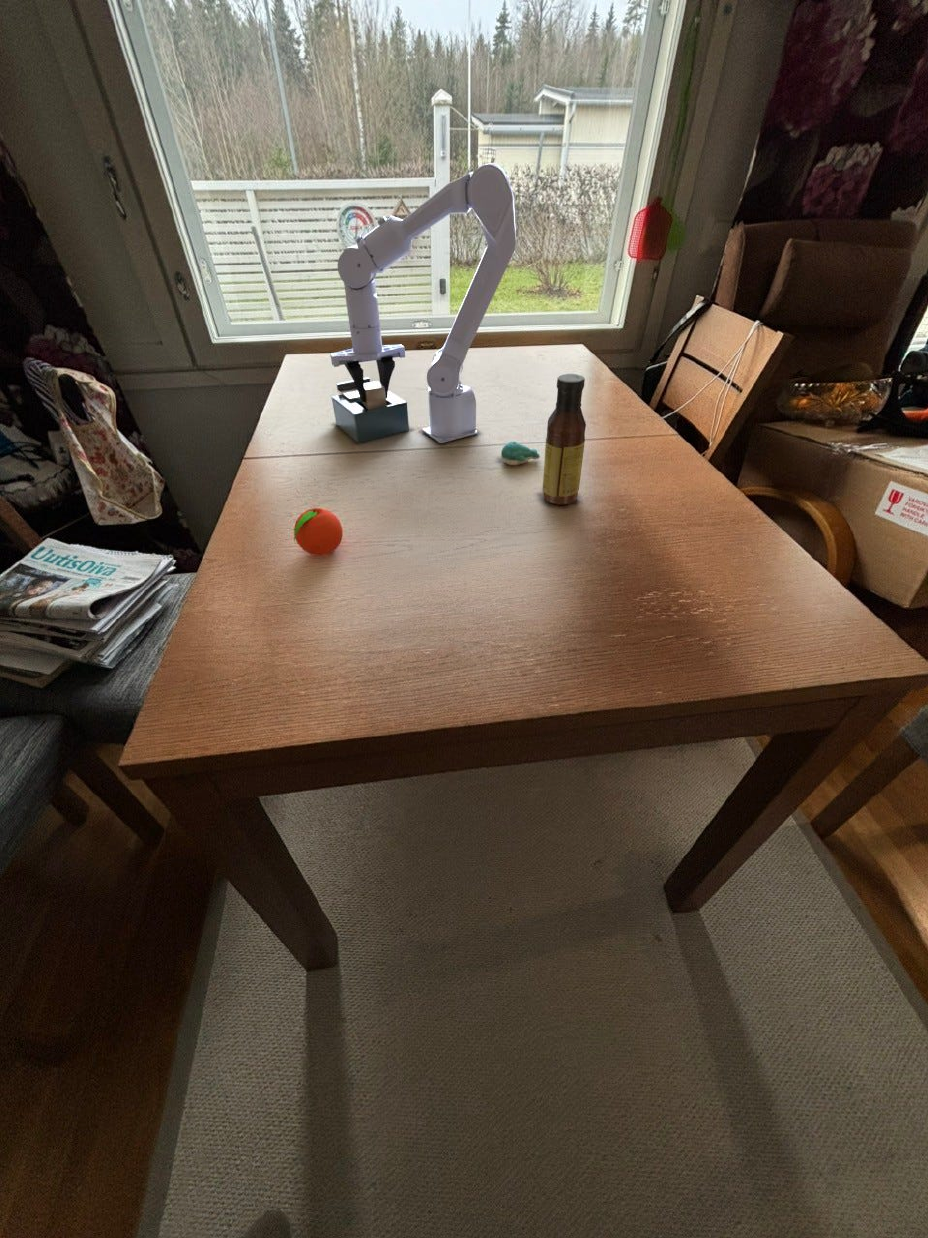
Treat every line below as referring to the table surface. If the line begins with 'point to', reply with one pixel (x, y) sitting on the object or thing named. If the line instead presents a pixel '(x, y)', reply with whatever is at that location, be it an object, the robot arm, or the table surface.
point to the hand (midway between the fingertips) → (373, 398)
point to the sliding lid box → (371, 417)
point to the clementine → (318, 531)
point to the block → (374, 395)
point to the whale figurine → (517, 453)
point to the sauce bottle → (565, 442)
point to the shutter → (350, 389)
